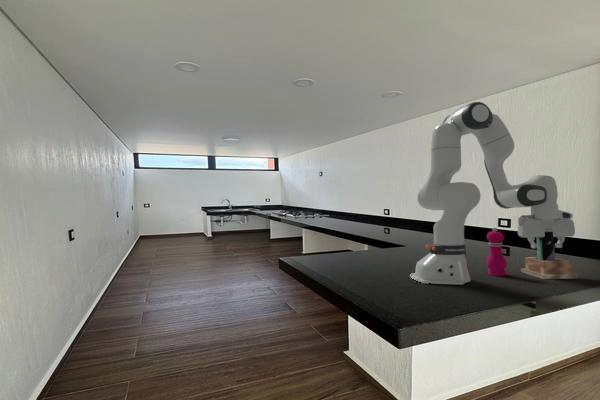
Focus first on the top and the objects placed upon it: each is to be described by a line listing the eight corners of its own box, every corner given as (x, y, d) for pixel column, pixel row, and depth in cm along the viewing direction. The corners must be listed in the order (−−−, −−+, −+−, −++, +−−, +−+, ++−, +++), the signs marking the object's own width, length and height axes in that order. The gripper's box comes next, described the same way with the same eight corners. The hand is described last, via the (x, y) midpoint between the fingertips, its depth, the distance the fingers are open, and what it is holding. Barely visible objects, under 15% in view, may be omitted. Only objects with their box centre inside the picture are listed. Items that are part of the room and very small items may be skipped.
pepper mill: (501, 272, 128) (498, 226, 128) (511, 276, 121) (508, 227, 121) (483, 272, 128) (481, 227, 129) (492, 276, 121) (490, 228, 122)
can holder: (543, 278, 115) (542, 262, 115) (520, 271, 128) (520, 256, 128) (578, 278, 114) (577, 261, 114) (552, 271, 127) (551, 256, 127)
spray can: (551, 272, 118) (548, 222, 118) (535, 270, 122) (533, 222, 123) (558, 271, 120) (555, 222, 121) (542, 269, 125) (539, 222, 126)
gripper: (523, 215, 119) (525, 249, 119) (577, 214, 118) (579, 248, 117) (513, 215, 126) (515, 247, 125) (564, 213, 124) (566, 246, 124)
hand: (546, 248), depth 121 cm, fingers open, 8 cm apart
